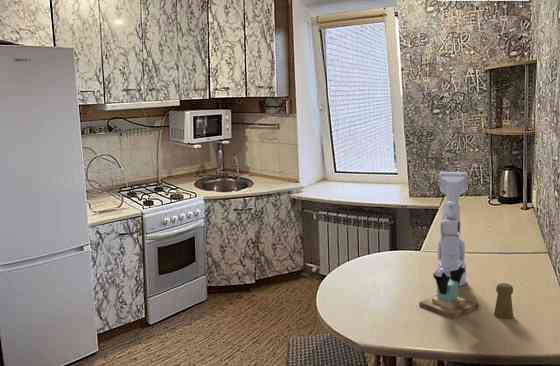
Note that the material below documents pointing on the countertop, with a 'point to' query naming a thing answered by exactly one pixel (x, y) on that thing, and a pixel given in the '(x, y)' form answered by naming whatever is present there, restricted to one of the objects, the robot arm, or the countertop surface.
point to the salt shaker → (504, 301)
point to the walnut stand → (449, 306)
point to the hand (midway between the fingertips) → (448, 290)
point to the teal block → (449, 292)
